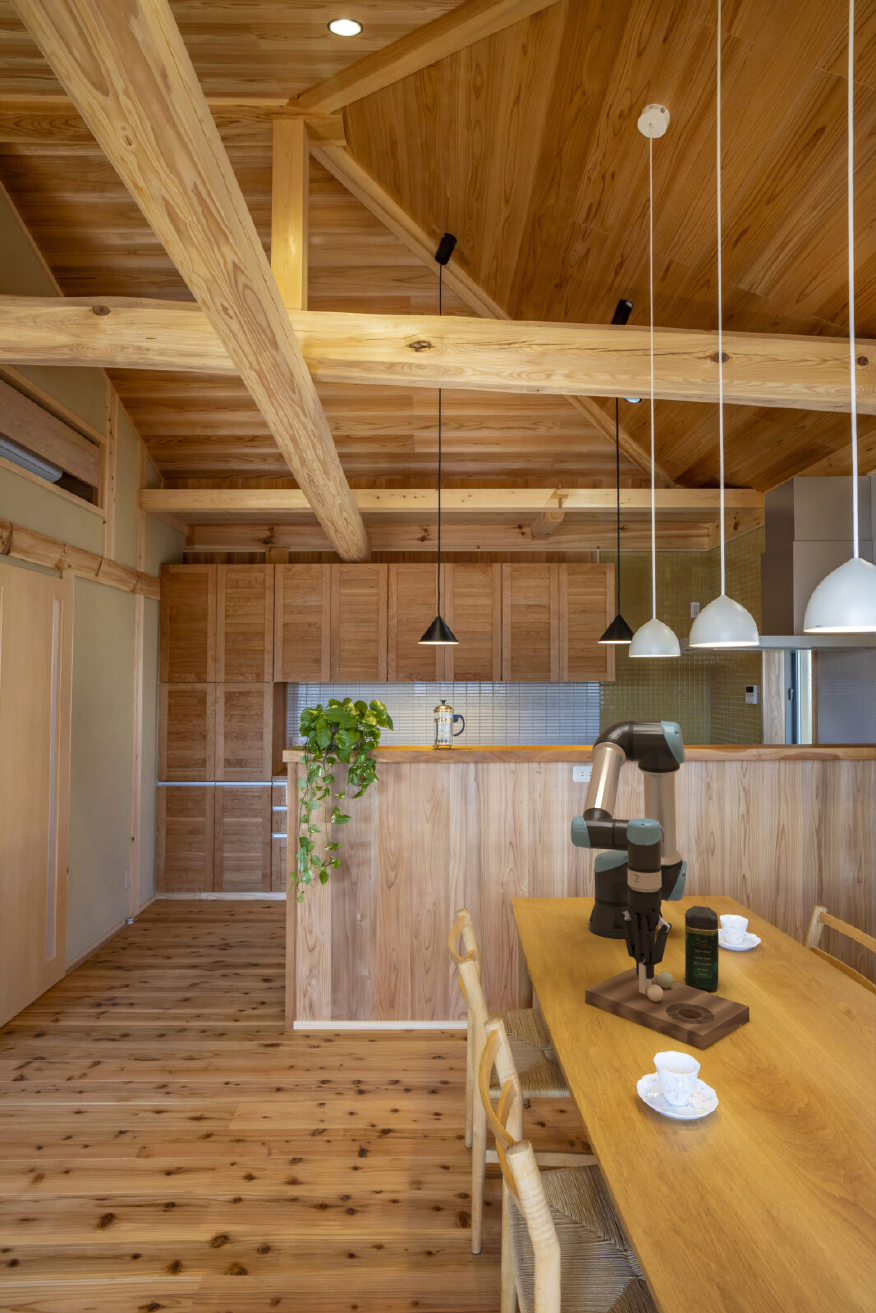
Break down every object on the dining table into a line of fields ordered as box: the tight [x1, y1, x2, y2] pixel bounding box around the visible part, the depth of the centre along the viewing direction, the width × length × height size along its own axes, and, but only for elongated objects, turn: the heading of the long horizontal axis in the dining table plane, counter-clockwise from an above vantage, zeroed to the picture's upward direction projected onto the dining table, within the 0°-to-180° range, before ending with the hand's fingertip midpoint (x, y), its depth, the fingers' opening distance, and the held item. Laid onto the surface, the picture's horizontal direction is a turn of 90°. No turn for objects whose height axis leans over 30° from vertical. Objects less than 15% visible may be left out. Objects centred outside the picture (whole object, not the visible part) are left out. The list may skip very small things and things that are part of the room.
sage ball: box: [657, 971, 674, 988], centre depth 177 cm, size 4×4×4 cm
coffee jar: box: [684, 905, 720, 992], centre depth 187 cm, size 10×8×19 cm
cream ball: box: [647, 984, 663, 1002], centre depth 170 cm, size 4×4×4 cm
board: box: [584, 967, 750, 1051], centre depth 172 cm, size 30×20×3 cm, turn 41°
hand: (645, 991), depth 172 cm, fingers closed
